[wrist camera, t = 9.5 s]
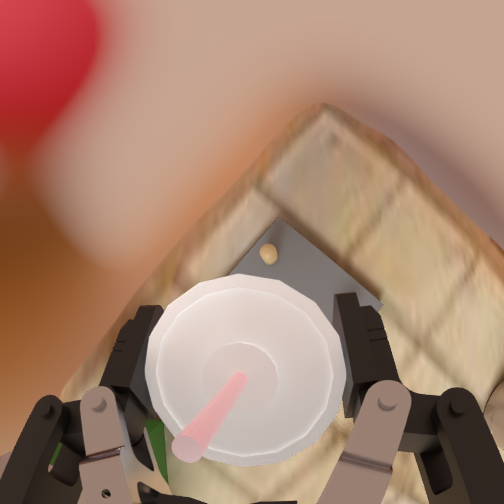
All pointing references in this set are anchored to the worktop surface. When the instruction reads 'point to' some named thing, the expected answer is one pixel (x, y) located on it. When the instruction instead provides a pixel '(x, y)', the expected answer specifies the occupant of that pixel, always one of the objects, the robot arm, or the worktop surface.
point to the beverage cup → (244, 371)
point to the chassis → (301, 268)
